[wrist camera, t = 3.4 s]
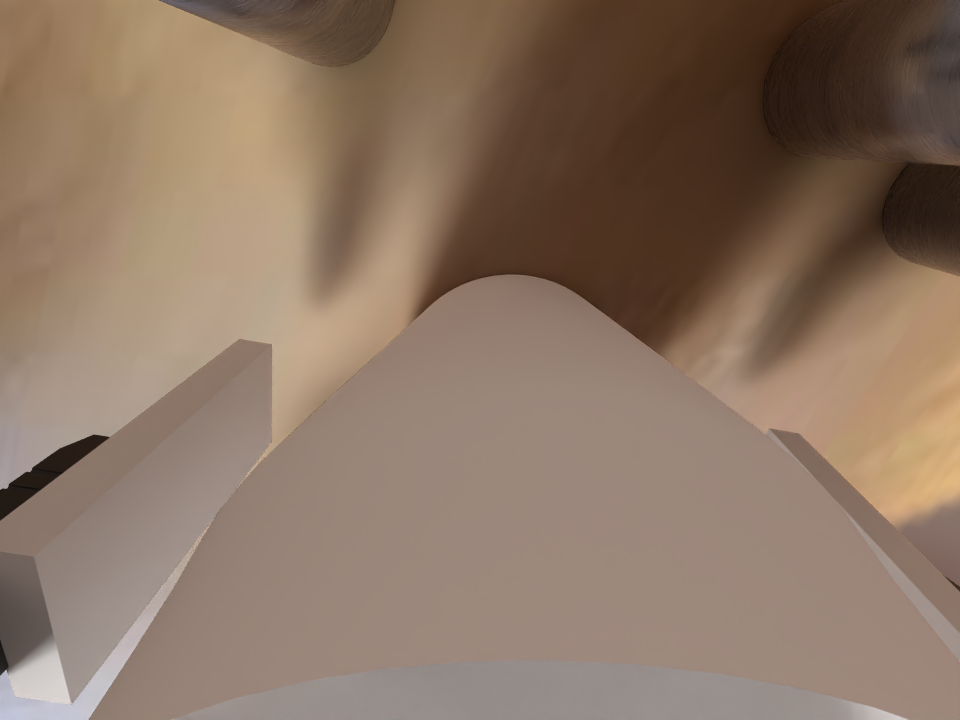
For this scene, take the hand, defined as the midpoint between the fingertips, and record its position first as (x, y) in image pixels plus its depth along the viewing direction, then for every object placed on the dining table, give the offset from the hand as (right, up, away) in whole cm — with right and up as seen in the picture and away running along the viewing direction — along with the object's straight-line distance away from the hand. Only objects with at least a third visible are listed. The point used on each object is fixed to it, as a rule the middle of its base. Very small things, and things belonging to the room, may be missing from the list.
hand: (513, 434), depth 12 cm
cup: (0, +1, +3) cm, 3 cm away
